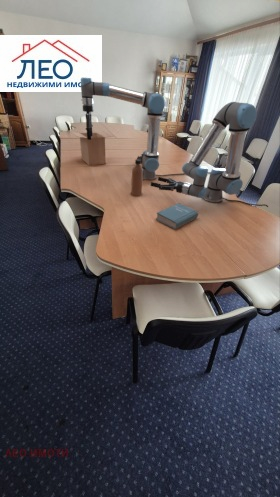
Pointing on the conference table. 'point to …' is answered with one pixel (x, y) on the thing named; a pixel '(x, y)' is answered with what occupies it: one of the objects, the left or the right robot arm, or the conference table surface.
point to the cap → (137, 161)
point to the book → (176, 215)
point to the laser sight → (140, 158)
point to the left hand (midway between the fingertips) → (90, 137)
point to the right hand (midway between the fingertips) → (154, 181)
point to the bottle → (137, 180)
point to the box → (93, 147)
